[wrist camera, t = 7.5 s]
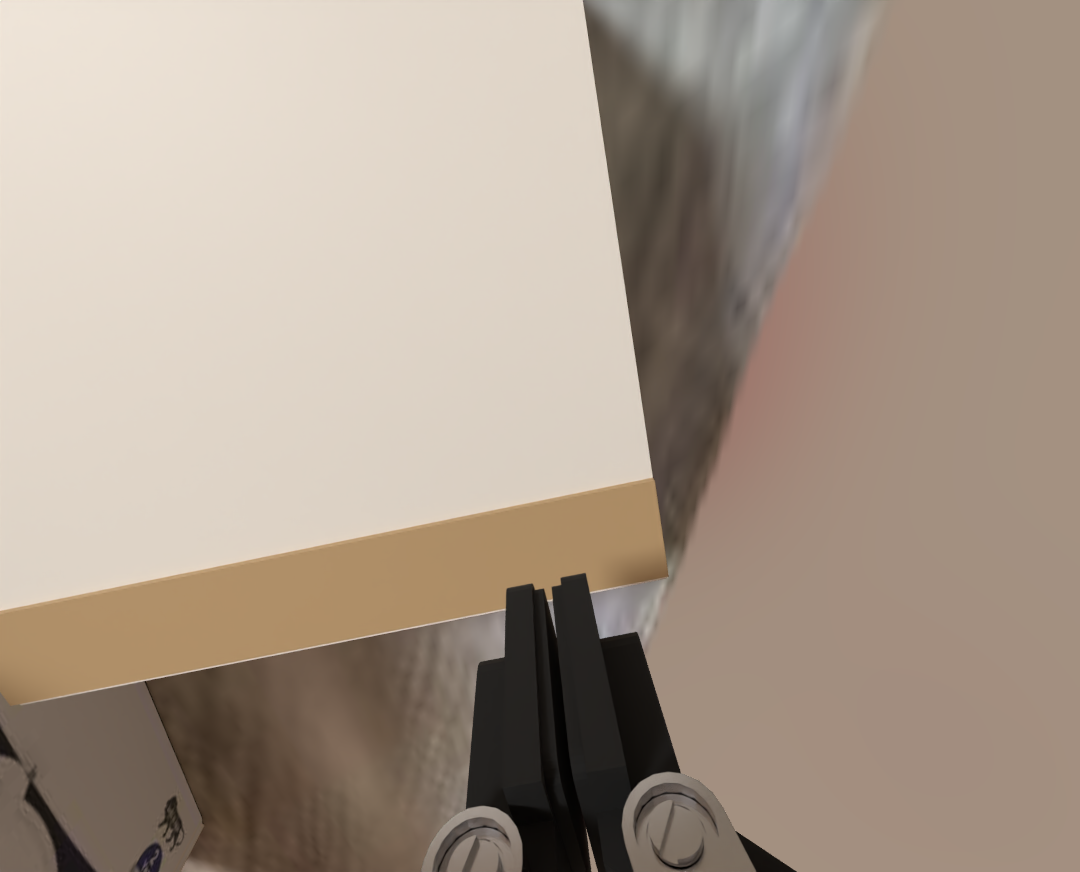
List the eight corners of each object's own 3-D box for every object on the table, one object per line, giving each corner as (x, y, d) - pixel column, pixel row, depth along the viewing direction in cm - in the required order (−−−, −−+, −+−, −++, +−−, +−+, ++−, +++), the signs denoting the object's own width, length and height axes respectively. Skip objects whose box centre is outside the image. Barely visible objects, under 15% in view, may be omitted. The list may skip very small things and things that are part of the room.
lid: (531, -297, 9) (531, -362, 8) (660, 562, 15) (669, 582, 14) (-455, -37, 10) (-562, -70, 9) (45, 684, 16) (14, 710, 15)
